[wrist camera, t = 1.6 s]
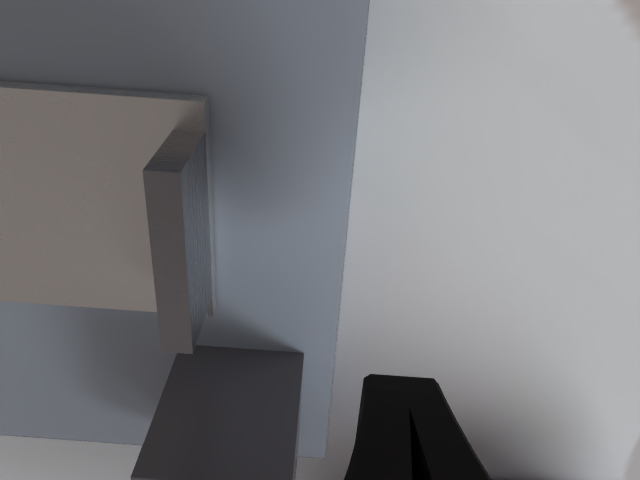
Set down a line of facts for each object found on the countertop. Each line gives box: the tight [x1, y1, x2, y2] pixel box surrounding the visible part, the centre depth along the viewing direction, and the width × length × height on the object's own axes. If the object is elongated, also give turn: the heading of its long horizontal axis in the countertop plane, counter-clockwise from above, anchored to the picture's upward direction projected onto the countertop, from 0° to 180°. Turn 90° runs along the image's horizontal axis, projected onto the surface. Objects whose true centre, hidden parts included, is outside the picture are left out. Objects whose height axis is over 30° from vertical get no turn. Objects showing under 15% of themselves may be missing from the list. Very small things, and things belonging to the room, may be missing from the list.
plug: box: [131, 345, 304, 480], centre depth 17 cm, size 4×4×6 cm
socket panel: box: [0, 0, 370, 459], centre depth 18 cm, size 17×16×2 cm
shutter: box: [0, 81, 216, 354], centre depth 15 cm, size 6×6×3 cm
